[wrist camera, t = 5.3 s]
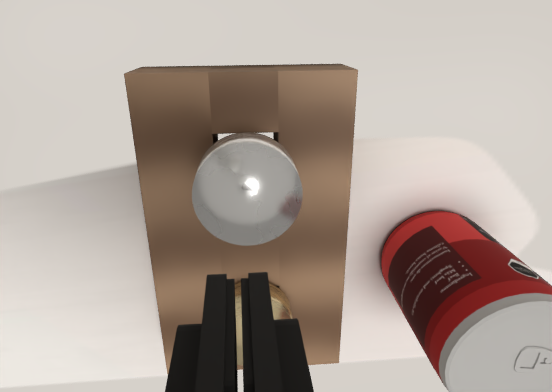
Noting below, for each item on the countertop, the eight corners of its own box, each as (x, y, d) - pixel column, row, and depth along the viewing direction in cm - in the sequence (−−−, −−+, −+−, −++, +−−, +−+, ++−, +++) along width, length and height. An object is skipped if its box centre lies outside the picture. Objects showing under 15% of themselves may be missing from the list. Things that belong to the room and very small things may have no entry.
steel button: (200, 116, 23) (186, 144, 17) (288, 114, 23) (303, 141, 18) (206, 198, 25) (196, 248, 19) (288, 196, 25) (301, 243, 20)
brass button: (214, 250, 29) (208, 302, 23) (284, 246, 29) (294, 297, 24) (219, 307, 31) (213, 368, 25) (284, 304, 31) (294, 363, 26)
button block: (142, 66, 24) (123, 73, 21) (340, 63, 25) (357, 69, 21) (176, 334, 32) (167, 374, 28) (327, 325, 33) (338, 363, 29)
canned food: (480, 284, 32) (588, 401, 22) (381, 303, 32) (444, 429, 22) (482, 197, 29) (608, 286, 19) (373, 218, 29) (442, 318, 19)
